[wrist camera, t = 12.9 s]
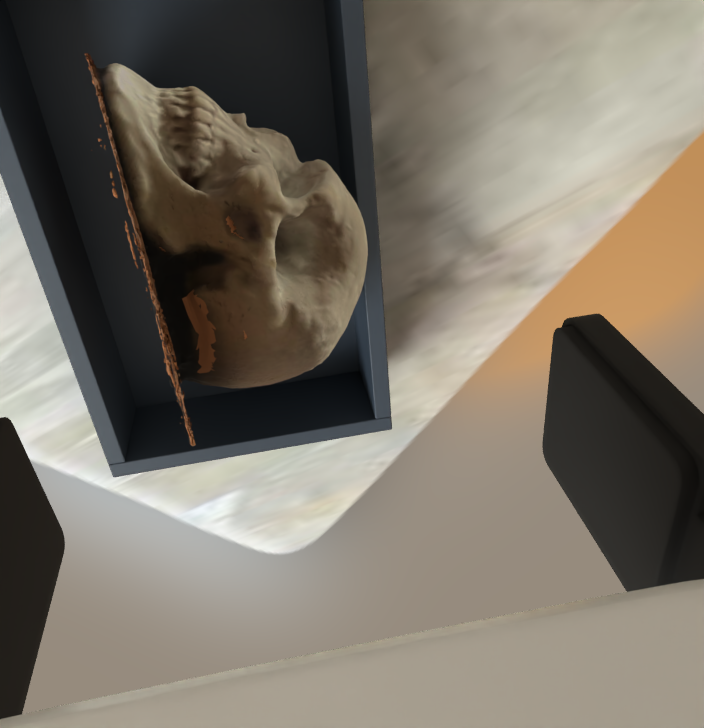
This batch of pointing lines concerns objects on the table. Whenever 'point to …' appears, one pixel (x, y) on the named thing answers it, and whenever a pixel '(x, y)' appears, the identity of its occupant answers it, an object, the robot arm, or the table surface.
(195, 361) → the skull
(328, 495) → the table surface
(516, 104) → the table surface
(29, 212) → the box
